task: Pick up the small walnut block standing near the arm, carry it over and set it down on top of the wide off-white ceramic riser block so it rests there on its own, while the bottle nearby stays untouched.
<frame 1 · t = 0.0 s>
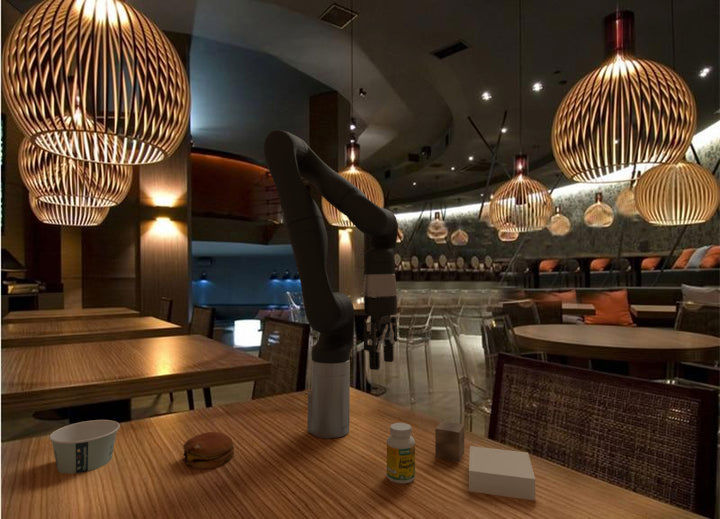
hand: (382, 365, 99), 17 cm above the table, tool pointing down, fingers open, 8 cm apart
walnut block: (450, 455, 92), on the table
burger: (208, 461, 89), on the table
food container: (85, 463, 87), on the table
riser block: (499, 482, 81), on the table
supplement bottle: (400, 478, 82), on the table
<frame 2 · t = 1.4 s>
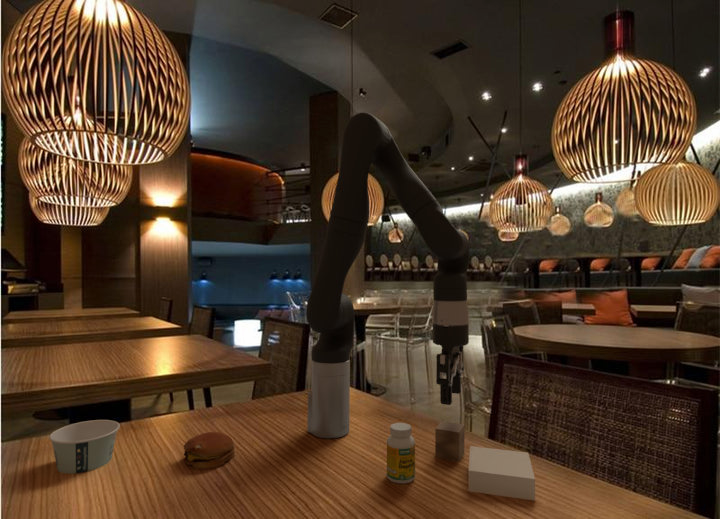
hand: (451, 398, 92), 12 cm above the table, tool pointing down, fingers open, 8 cm apart
nothing on the table moved.
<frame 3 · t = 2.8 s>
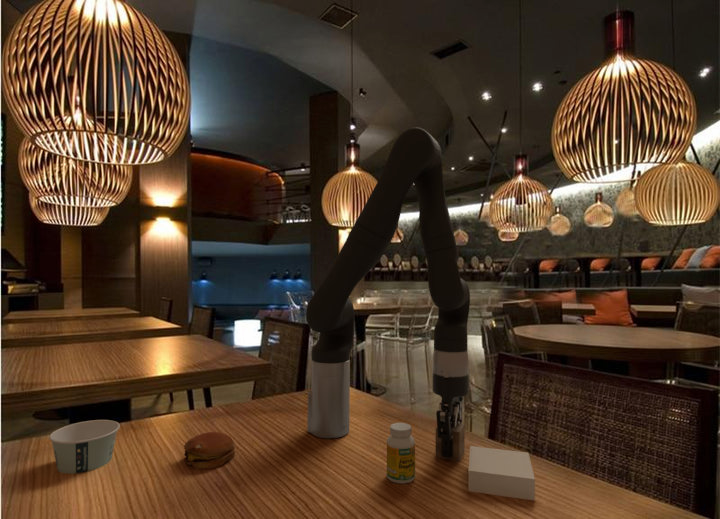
hand: (450, 451, 92), 1 cm above the table, tool pointing down, fingers closed on walnut block, 5 cm apart
walnut block: (450, 454, 92), on the table, touching gripper
everything else where it was.
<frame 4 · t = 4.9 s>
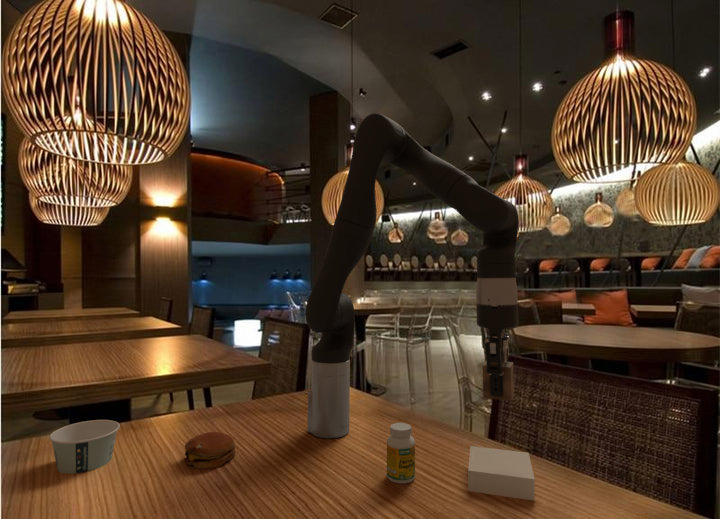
hand: (498, 391, 82), 16 cm above the table, tool pointing down, fingers closed on walnut block, 5 cm apart
walnut block: (498, 395, 82), point 15 cm above the table, touching gripper
everything else where it was.
when the fingers open (6 cm above the table, at t = 7.3 s): walnut block drops 1 cm, resting on riser block.
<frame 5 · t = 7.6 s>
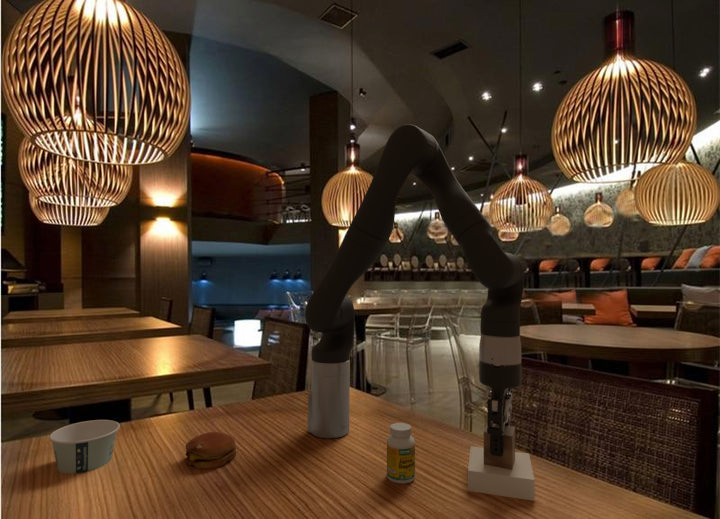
hand: (499, 446, 81), 6 cm above the table, tool pointing down, fingers open, 7 cm apart
walnut block: (499, 461, 81), point 3 cm above the table, touching riser block
riser block: (499, 483, 81), on the table, touching walnut block
everything else where it was.
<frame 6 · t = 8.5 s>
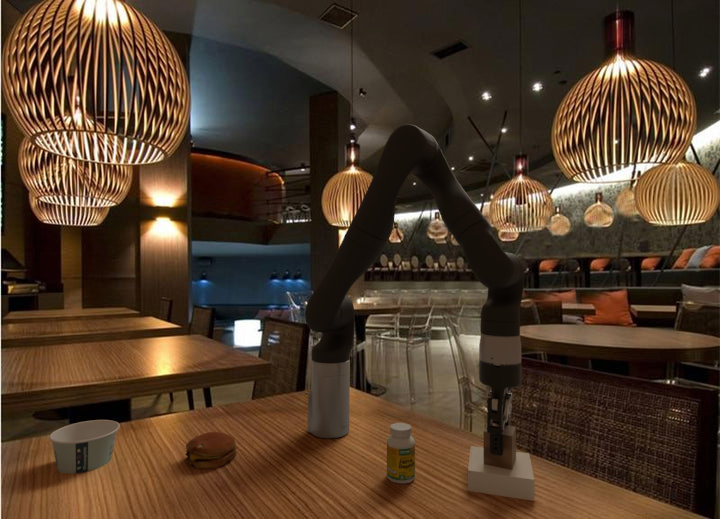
hand: (499, 445, 81), 6 cm above the table, tool pointing down, fingers open, 8 cm apart
walnut block: (500, 461, 81), point 4 cm above the table
riser block: (499, 483, 81), on the table
everything else where it was.
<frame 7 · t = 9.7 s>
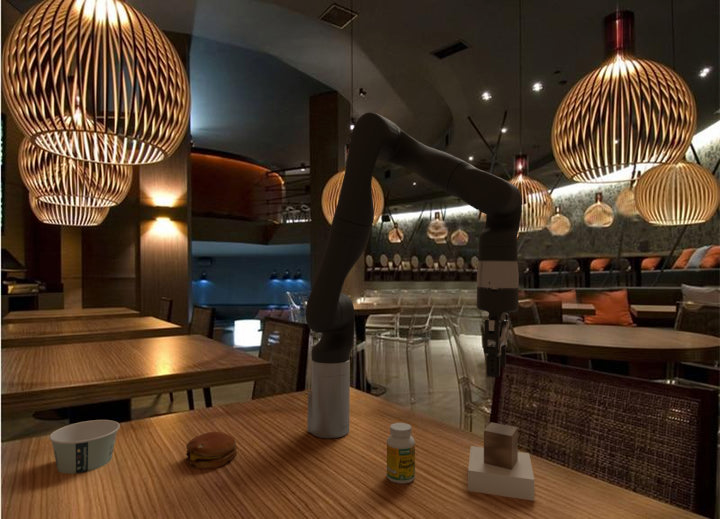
hand: (496, 371, 82), 20 cm above the table, tool pointing down, fingers open, 8 cm apart
walnut block: (500, 461, 81), point 4 cm above the table, touching riser block
riser block: (499, 483, 81), on the table, touching walnut block
everything else where it was.
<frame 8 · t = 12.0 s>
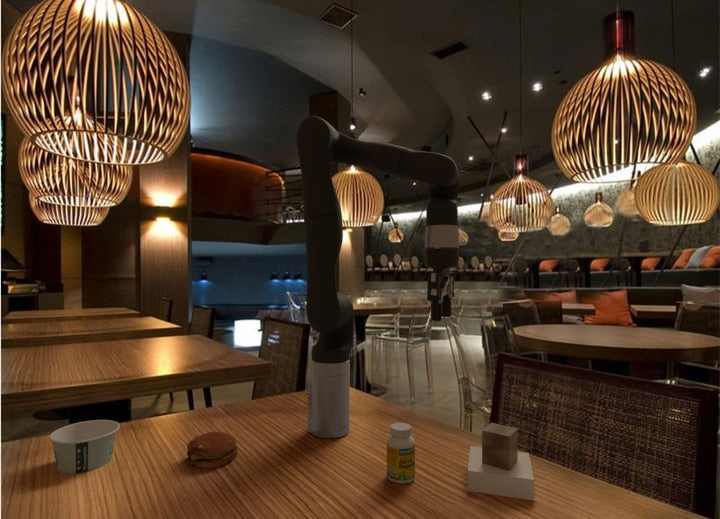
hand: (441, 318, 97), 28 cm above the table, tool pointing down, fingers open, 8 cm apart
nothing on the table moved.
at the end: walnut block inside the target area on the riser block (0.2 cm from its centre), point 4.0 cm above the riser block's base; walnut block tilted 0°; the gripper is holding nothing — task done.
